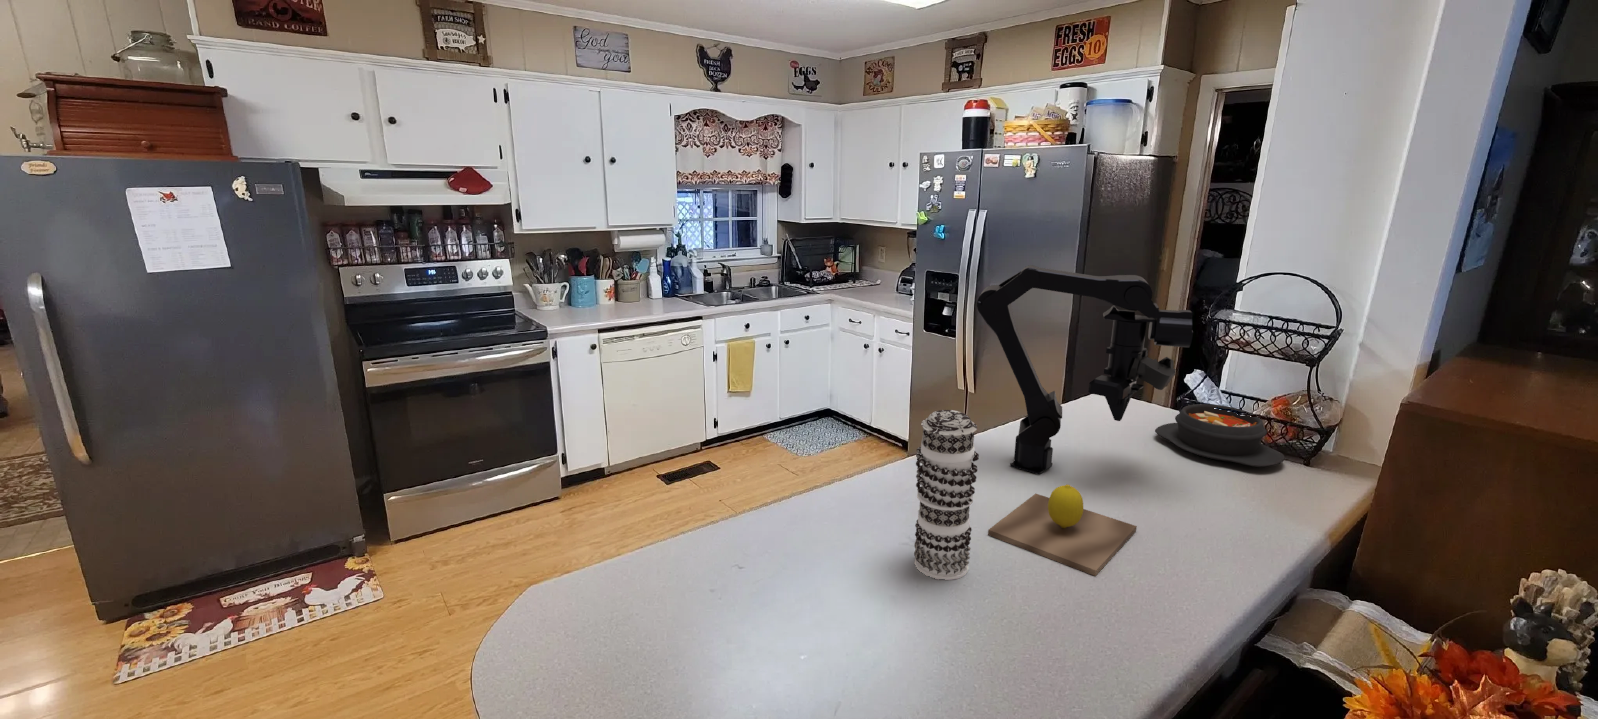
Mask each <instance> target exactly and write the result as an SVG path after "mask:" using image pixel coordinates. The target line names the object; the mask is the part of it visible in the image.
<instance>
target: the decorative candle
mask: <svg viewBox="0 0 1598 719" xmlns="http://www.w3.org/2000/svg"><path fill="white" fill-rule="evenodd" d="M920 425H921V427H922V438H921V444H920V446H919V447H917V448H916V453H915V456H916V461H915V466H916V467H917V470H916V476H915V478H916V479H917V480H916V484H915V487H916V488H917V495H916V497H917V499H918V501H919V509H918V511H917V512H918V515H917V520H916V522H915V529H916V530H915V531H916V532H915V534H914V536H915V538H916V539H915V541H914V543H913V544H914V546H913V547H914V549H915V550H914V553H913V555H914V564H915V565H916V566H915V565H914V566H915V568H916V567H917V568H916V569H918V570H919V571H920V573H921V572H922V573H924V574H925V575H926V577H928V576H931V577H933V578H932V579H934V578H935V580H939V579H945V580H944V581H952V580H958V579H960V578H962V577H965V575H967V573H968V572H969V571H970V570H969V564H970V562H969V560H970V559H971V557H970V552H969V551H971V547H970V546H969V545H970V544H971V540H972V537H971V534H972V533H971V532H972V530H973V529H972V527H971V525H970V523H971V516H970V506H971V505H972V503H973V502H974V497H973V496H974V494H975V493H976V492H975V490H976V489H975V487H974V486H973V483H976V482H977V476H976V475H975V473H977V472H978V465H976V464H975V463H974V462H976V461H978V460H980V454H979V453H978V452H977V451H976V450H975V443H974V441H975V440H974V439H975V432H976V431H977V430H978V425H977V424H976V423H975V422H973V421H972V420H971V418H970V417H969V415H967V414H966V413H963V412H961V411H958V410H953V409H951V410H950V409H941V410H935V411H933V412H932V413H930V414H929V416H927V417H926V418H925V419H923V420H922V421H921V424H920ZM972 461H973V462H972ZM921 464H922V465H921ZM918 570H917V571H918ZM919 571H918V572H919ZM922 573H921V574H922ZM924 574H923V575H924ZM925 575H924V576H925ZM931 577H930V578H931Z"/></svg>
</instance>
